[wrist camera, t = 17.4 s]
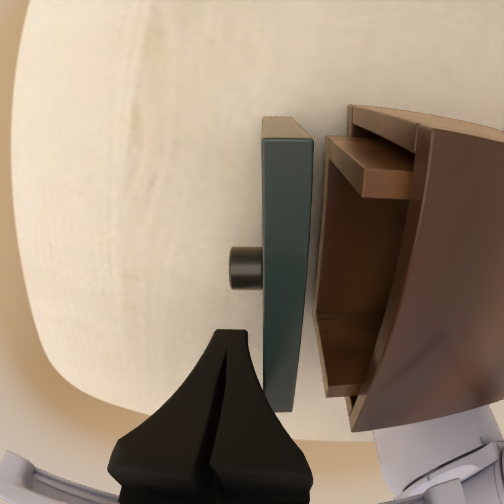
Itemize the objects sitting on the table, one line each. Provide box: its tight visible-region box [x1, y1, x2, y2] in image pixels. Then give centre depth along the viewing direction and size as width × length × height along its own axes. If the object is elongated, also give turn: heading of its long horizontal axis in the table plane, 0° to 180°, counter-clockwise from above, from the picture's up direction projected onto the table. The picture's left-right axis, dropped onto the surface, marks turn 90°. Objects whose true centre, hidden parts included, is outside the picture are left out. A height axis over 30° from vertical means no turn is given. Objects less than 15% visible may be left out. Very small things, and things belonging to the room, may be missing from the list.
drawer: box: [229, 117, 415, 412], centre depth 12 cm, size 15×10×6 cm
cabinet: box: [345, 104, 504, 432], centre depth 11 cm, size 15×12×8 cm
